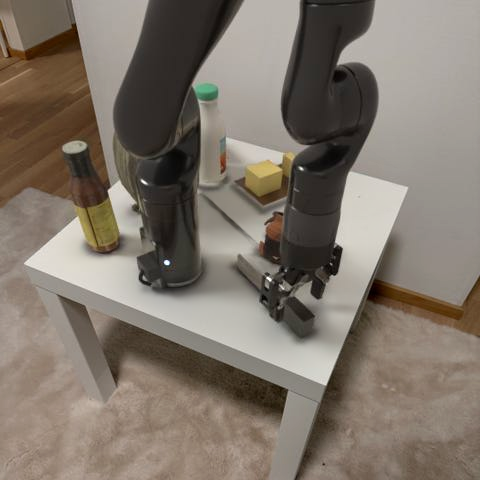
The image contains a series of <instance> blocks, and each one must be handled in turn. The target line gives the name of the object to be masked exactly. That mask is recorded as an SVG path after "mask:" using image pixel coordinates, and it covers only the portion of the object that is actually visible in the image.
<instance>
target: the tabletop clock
mask: <svg viewBox="0 0 480 480" xmlns="http://www.w3.org/2000/svg"><path fill="white" fill-rule="evenodd" d="M112 152H113V161H114V167H115V170H116V173H117V176H118V179H119V182H120V183H121V185H122V186H123V188H124V189H125V190H126V192H127V193H128V194H129V195H130V197H131V198H132V199H133V201H134V202H135V203H133V204H132V205H131V210H132V211H133V212H138V211H140V205H139V200H138V194H137V188H136V183H135V172H136V169H137V166H138V164H139V162H140V159H138V158H136V157H134V156H132V155H131V154H129V153H128V152H127V151H126V150H125V149H124V147H123V146H122V145H121V143H120V141H119V140H118V138H117V135H116V132H115V129H113V134H112ZM199 185H200V182H199V173H198V176H197V191H199V187H200V186H199Z"/></svg>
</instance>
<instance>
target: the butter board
mask: <svg viewBox="0 0 480 480" xmlns="http://www.w3.org/2000/svg"><path fill="white" fill-rule="evenodd" d="M276 165H277V166H278V167H279V168H281V169H282V163H280V164H276ZM245 179H246V176H244V177H241V178H238V179H235V180H234V181H233V182H234V183H235V184H236V185H238V186H239V187H240V188H241V189H242V190H244V191H245V192H246V193H247V194H248V195H250V196H251V197H252V198H253V199H254V200H256V201H257V202H258V203H259V204H261V206H263V207H265V206H268V205H269V204H271V203H275V202H277V201H279V200H281V199H284V198H287V192H288V183H289V178H288V177H286V176H285V175H284V174H282V181H281V189H278V190H275V191H273V192H270V193H268V194H265V195H263V196H260V197H258V196H257V195H256V194H254V193H253V192H252V191H251V190H250V189H248V188H247V187H246V186H245Z"/></svg>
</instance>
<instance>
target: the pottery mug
mask: <svg viewBox="0 0 480 480" xmlns="http://www.w3.org/2000/svg"><path fill="white" fill-rule="evenodd" d="M283 213H284V211H283V212H282V211H273V212H272V216H271V217H270V218H268V219H267V220H266V221H265V222H264V224H263V226H264V227H265V226H266V227H265V235H264V241H263V240H260V241H259V243H258V253H259V254H260V255H261V256H263V258H265V259H267V260H269V261H271V262H273V263H275V264H282V259H281V255H280V240H281V231H282V222H283Z"/></svg>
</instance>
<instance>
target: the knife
mask: <svg viewBox="0 0 480 480" xmlns="http://www.w3.org/2000/svg"><path fill="white" fill-rule="evenodd" d="M236 268H237V269H238V270H239V271H240V272H241V273H242V274H243V275H244V276H245V277H246V278H247V279H248V280H249V281H250V282H251V283H252V284H253V286H255V287H256V288H257V289H258V290H259V292H260V291H261V283H262V276H263V274H262V273H260V272H259V271H258V270H257V269H256V268H255V267H254V266H253V265H252V264H251V263H250V262H249V261H248V260H247V258H245V257H244V256H243V255H242V254H241V253H239V254H237V256H236ZM282 296H283V294H282V293H281V292H280V293H279V294H278V296H277V297H278V298H279V299H281V298H282ZM284 307H285V308H284V315H283V322H284V323H285V324H286V325H287V326H288V327H289V328H290V329H291V330H292V331H293V332H294V333H295V334H296V335H297V336H298V337H299V338H300V339H301V338H303V337H305V336H307V335H308V334H310V333H312V332H313V328H314V324H315V320H316V315H315V313H313V312H312V311H311V310H310V309H309V308H308V307H307V306H306V305H305V304H304V303H303V302H302V301H300V299H298V297H296V295H294V297H293V298H289V299H288V301H287V302H286V304H285V305H284Z"/></svg>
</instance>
